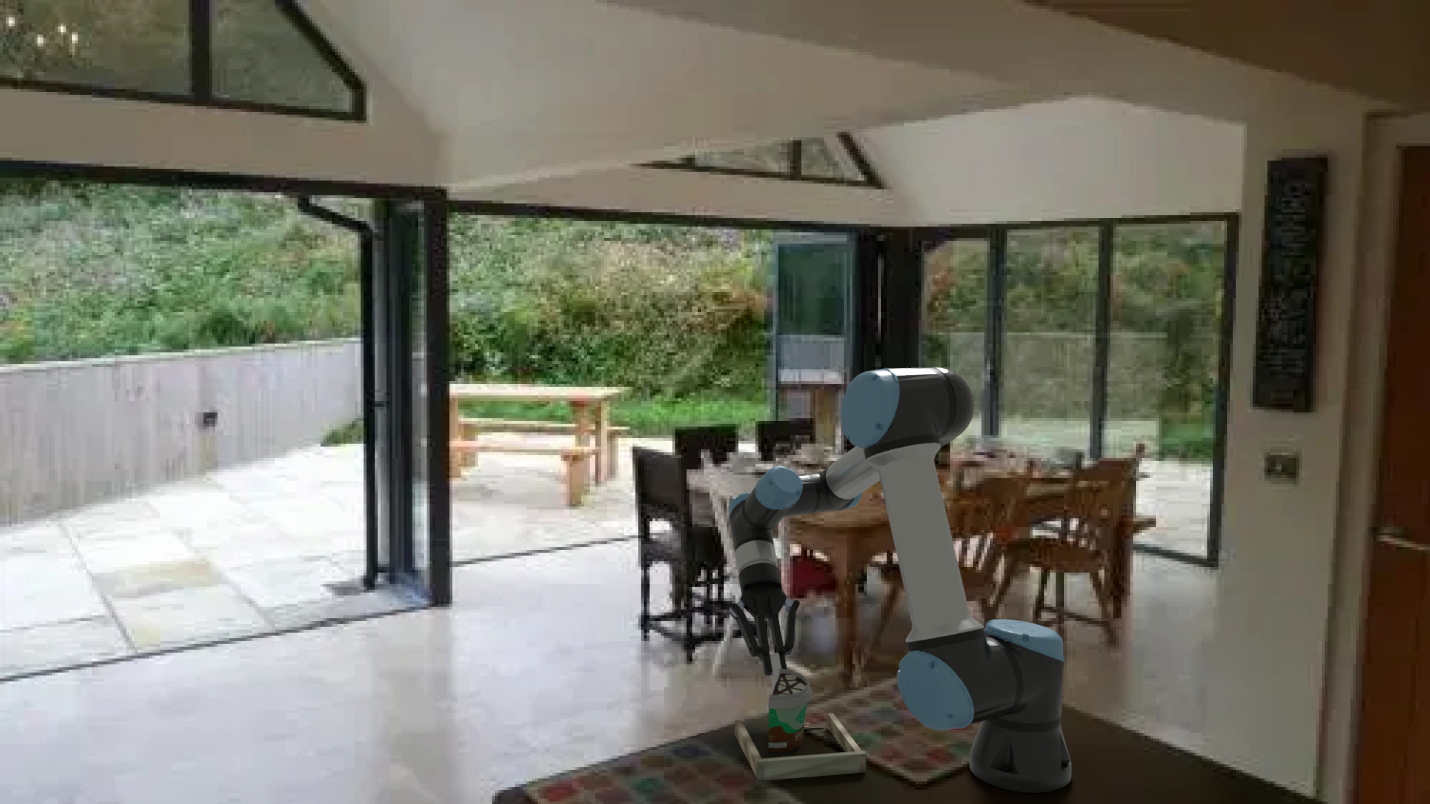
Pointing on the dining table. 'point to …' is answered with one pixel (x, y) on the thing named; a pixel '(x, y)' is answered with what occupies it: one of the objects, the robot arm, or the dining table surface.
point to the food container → (788, 711)
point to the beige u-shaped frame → (805, 757)
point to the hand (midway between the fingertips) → (779, 691)
